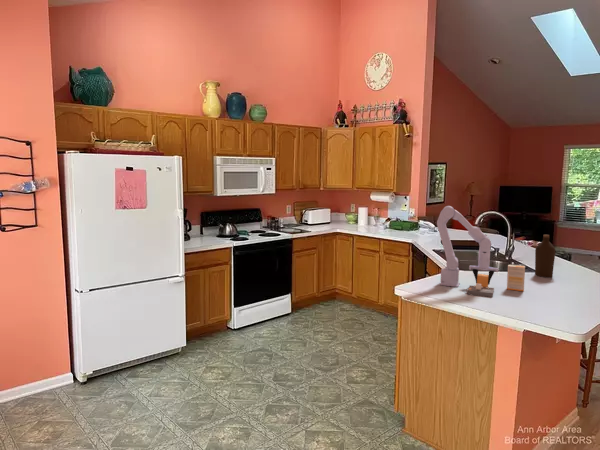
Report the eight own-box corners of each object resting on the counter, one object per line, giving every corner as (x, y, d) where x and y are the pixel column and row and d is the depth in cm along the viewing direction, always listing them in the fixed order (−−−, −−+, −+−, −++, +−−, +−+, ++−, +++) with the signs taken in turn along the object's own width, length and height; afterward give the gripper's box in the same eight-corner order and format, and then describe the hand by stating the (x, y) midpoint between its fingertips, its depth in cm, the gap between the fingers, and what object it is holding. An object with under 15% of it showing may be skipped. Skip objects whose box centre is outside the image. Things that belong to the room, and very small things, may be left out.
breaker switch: (475, 289, 224) (476, 284, 224) (476, 288, 226) (476, 283, 226) (480, 289, 223) (481, 284, 223) (481, 288, 225) (481, 283, 225)
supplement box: (524, 289, 232) (525, 265, 231) (523, 291, 228) (525, 267, 226) (507, 287, 236) (508, 264, 235) (506, 289, 232) (507, 265, 231)
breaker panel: (467, 294, 224) (467, 289, 223) (469, 289, 233) (469, 284, 233) (492, 297, 218) (492, 292, 218) (493, 291, 228) (494, 286, 228)
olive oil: (549, 278, 256) (552, 236, 253) (530, 275, 264) (533, 234, 261) (556, 275, 263) (559, 235, 260) (538, 272, 271) (540, 233, 268)
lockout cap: (476, 286, 236) (477, 275, 235) (477, 284, 240) (478, 273, 240) (487, 287, 233) (488, 277, 232) (488, 285, 238) (488, 274, 237)
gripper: (469, 259, 235) (467, 283, 236) (498, 261, 228) (496, 286, 230) (470, 256, 241) (469, 280, 242) (498, 259, 234) (497, 283, 236)
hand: (482, 283), depth 237 cm, fingers closed on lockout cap, 5 cm apart
